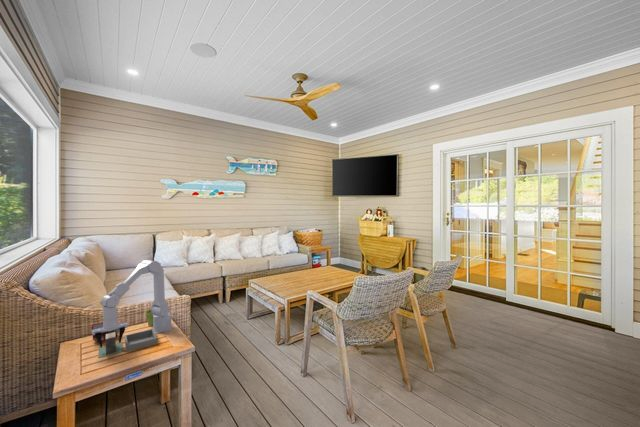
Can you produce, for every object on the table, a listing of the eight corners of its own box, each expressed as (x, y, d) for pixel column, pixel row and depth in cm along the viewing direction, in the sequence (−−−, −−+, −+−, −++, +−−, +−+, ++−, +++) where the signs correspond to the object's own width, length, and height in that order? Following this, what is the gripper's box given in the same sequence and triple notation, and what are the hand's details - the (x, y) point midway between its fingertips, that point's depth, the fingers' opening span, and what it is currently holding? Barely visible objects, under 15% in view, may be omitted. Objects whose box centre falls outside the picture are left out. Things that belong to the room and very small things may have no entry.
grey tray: (152, 332, 164) (152, 326, 164) (157, 347, 146) (157, 341, 146) (124, 338, 156) (124, 332, 156) (126, 356, 138) (126, 349, 138)
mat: (122, 343, 151) (122, 342, 151) (123, 352, 142) (123, 351, 142) (98, 349, 145) (98, 347, 145) (98, 359, 136) (98, 357, 136)
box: (115, 345, 148) (115, 332, 148) (115, 352, 141) (115, 338, 141) (106, 347, 145) (105, 334, 145) (106, 354, 138) (105, 340, 138)
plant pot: (148, 329, 168) (147, 315, 168) (143, 324, 174) (142, 311, 174) (164, 324, 175) (164, 310, 175) (159, 320, 182) (158, 307, 181)
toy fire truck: (121, 337, 158) (120, 319, 158) (93, 345, 149) (93, 326, 148) (117, 333, 163) (116, 316, 162) (90, 341, 153) (89, 323, 153)
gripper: (91, 324, 135) (92, 352, 136) (127, 317, 144) (128, 343, 144) (92, 320, 141) (92, 346, 141) (126, 313, 150) (127, 338, 150)
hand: (110, 344), depth 143 cm, fingers open, 7 cm apart
